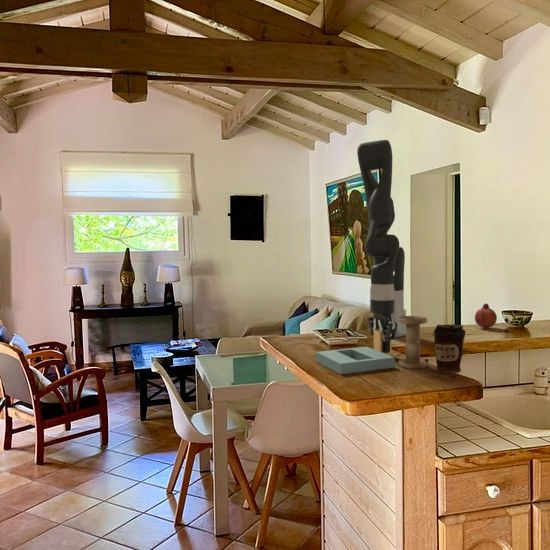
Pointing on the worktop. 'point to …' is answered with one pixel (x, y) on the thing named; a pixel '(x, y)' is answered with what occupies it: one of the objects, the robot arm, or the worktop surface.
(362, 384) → the worktop surface
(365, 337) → the worktop surface
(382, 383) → the worktop surface
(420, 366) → the bobbin
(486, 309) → the fruit
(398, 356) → the worktop surface
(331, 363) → the board
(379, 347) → the orange rectangular block
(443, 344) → the coffee cup
